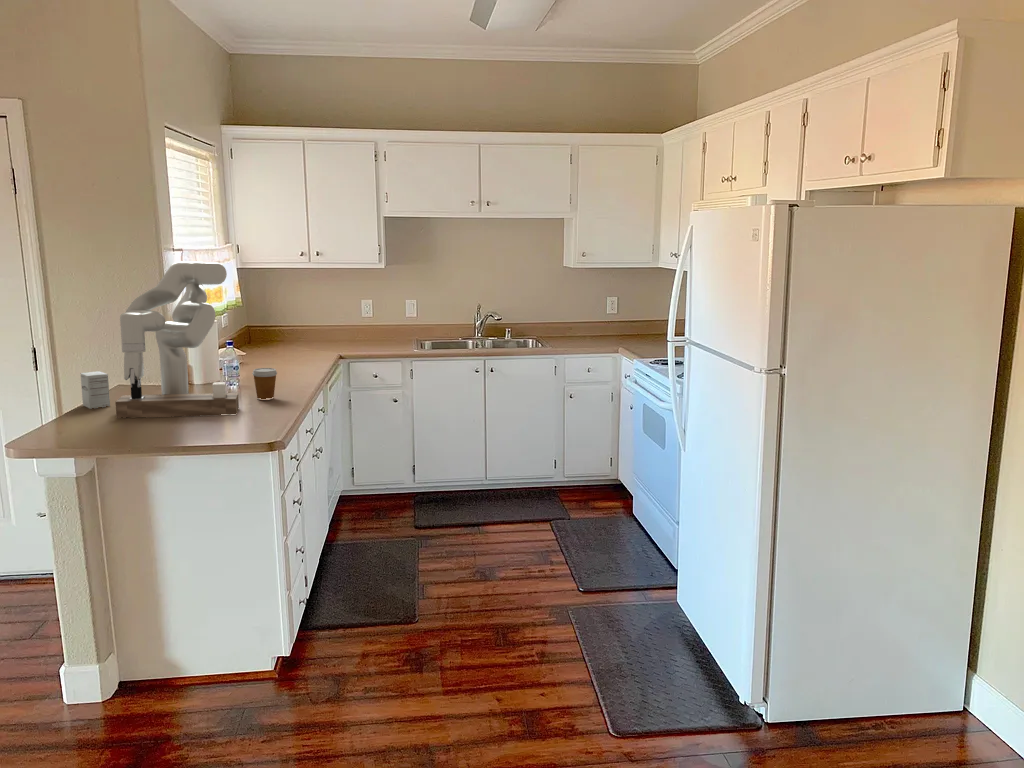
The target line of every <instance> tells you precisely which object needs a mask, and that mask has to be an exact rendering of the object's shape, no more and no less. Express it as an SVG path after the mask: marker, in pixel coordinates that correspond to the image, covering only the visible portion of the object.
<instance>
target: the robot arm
mask: <svg viewBox="0 0 1024 768" xmlns="http://www.w3.org/2000/svg"><path fill="white" fill-rule="evenodd" d="M227 274H228V272H227V269H226V267H225V266H224V265H223V264H222V263H220V262H206V261H205V262H203V261H185V260H183V261H182V260H179V261H176V262H173V263H172V264H170V266H169V267H168V269H167V271H166V272H165V273H164V274H163V276H162V277H161V278H160V281H158V283H157V284H156V285H155V286H154V287H152V288H151V289H148V290H147V291H145V292H144V293H142V294H140V295H139V296H138V297H136V298H135V299H134V300H132V302H131V303H130V305H129V306H128V307H127V308H126V310H125V312H123V313H121V314H120V316H119V323H120V324H119V325H120V339H121V353H124V355H123V374H124V375H123V378H124V380H125V381H128V380H129V383H130V395H131V398H141V397H142V395H143V393H142V378H143V377H144V376H145V367H144V366H145V365H144V352H146V337H145V336H146V335H145V333H146V332H150V333H151V332H153V333H154V334H155V339H156V343H157V347H158V353H159V366H160V367H159V368H160V386H161V395H162V394H190V393H189V374H188V373H189V372H188V358H187V354H186V352H185V349H184V348H186V349H195V348H198V347H200V346H201V344H202V343H203V342H204V340H205V339H206V337H207V336H208V334H209V332H211V331H210V330H211V329H212V327H213V326H214V323H215V320H216V309H215V308H214V306H212V305H211V304H210V303H207V301H208V295H207V292H206V291H205V290H206V289H205V287H204V285H205V286H206V285H207V286H208V285H211V286H212V285H221V284H223V283H224V282H225V280H226V279H227V276H228V275H227ZM184 290H185V292H184V293H183V295H182V297H181V299H180V300H179V301H178V303H177V305H176V306H175V307H174V309H173V312H172V317H171V318H172V320H173V321H166V317H165V316H164V314H162V313H161V312H158V311H156V310H154V309H156V308H159V307H162V306H165V305H169V304H171V303H174V302H176V301H177V300H178V299H179V297H180V296H181V294H182V292H183V291H184Z"/></svg>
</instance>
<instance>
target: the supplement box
mask: <svg viewBox="0 0 1024 768" xmlns="http://www.w3.org/2000/svg"><path fill="white" fill-rule="evenodd" d="M80 385H81V398H82V406H84V407H86V408H87V409H90V410H93V409H92V408H94V409H99V408H98V407H102V408H107V407H106V406H109V407H110V406H111V403H110V402H111V399H110V385H109V374H108V373H106V372H103V371H99V370H98V371H90V372H89V371H88V372H80Z"/></svg>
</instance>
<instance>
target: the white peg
mask: <svg viewBox="0 0 1024 768" xmlns="http://www.w3.org/2000/svg"><path fill="white" fill-rule="evenodd" d="M226 383H227V382H226V381H225V382H224V381H217V382H216V381H215V382H212V386H211V387H212V393H213V398H226V393H227V384H226Z"/></svg>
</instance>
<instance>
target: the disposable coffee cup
mask: <svg viewBox="0 0 1024 768" xmlns="http://www.w3.org/2000/svg"><path fill="white" fill-rule="evenodd" d="M251 374H252V377H253V380H254V387H255V393H256V398H261V399H266V398H272V397H274V398H275V391H276V390H275V389H276V379H277V378H276V377H277V374H278V371H277V369H276V368H272V367H261V368H255V369H253V370H252V373H251Z"/></svg>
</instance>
